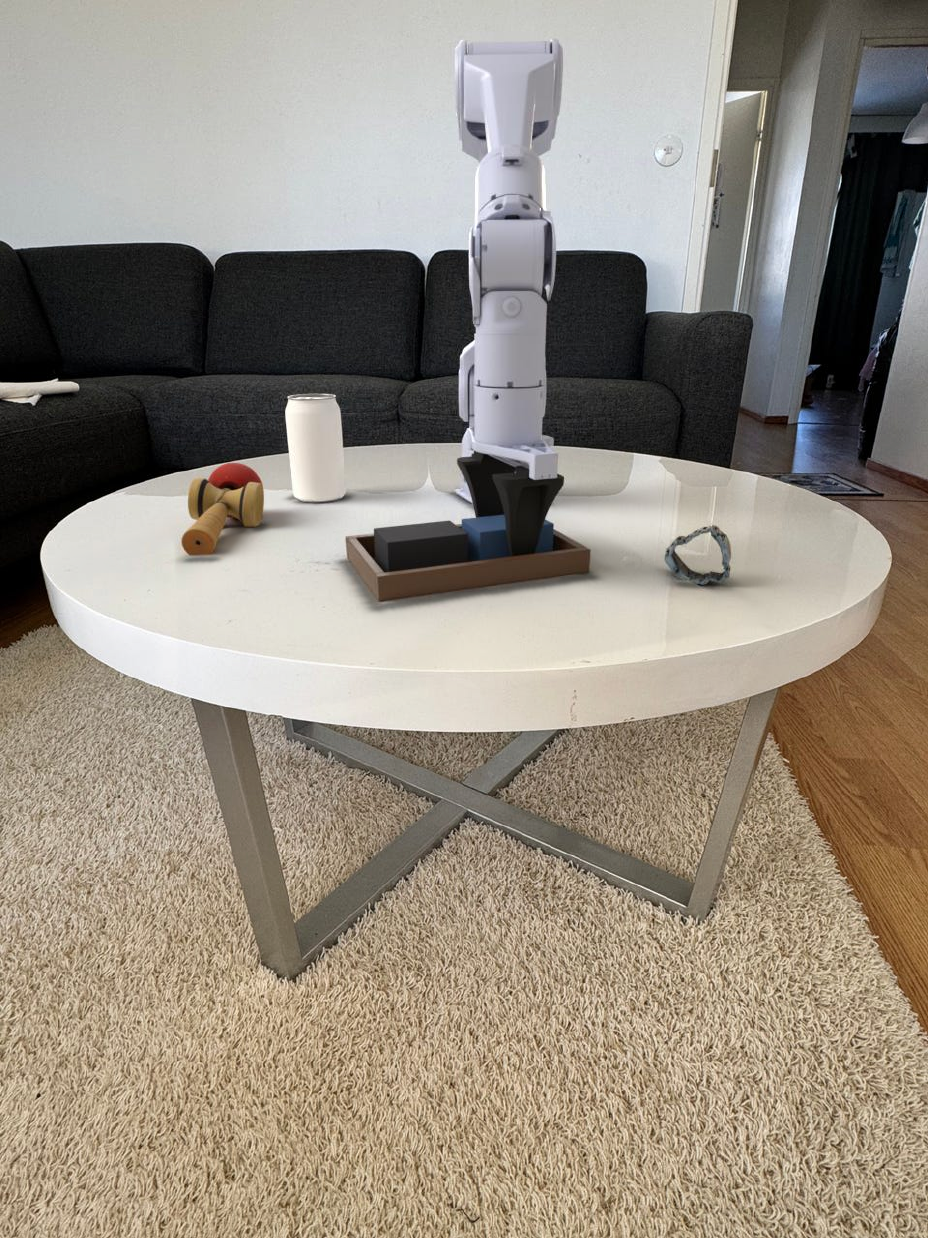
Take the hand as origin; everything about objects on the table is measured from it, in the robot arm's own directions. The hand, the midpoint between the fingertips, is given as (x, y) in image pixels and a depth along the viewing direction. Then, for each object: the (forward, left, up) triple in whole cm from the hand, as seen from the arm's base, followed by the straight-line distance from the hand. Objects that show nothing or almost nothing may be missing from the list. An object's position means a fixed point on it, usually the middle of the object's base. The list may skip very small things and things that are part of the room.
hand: (505, 543), depth 65 cm
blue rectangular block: (0, 0, -1) cm, 1 cm away
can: (-32, -11, -2) cm, 34 cm away
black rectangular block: (0, -8, -1) cm, 8 cm away
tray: (0, -4, -2) cm, 4 cm away
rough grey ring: (+10, +13, -2) cm, 17 cm away
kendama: (-20, -23, -2) cm, 31 cm away
